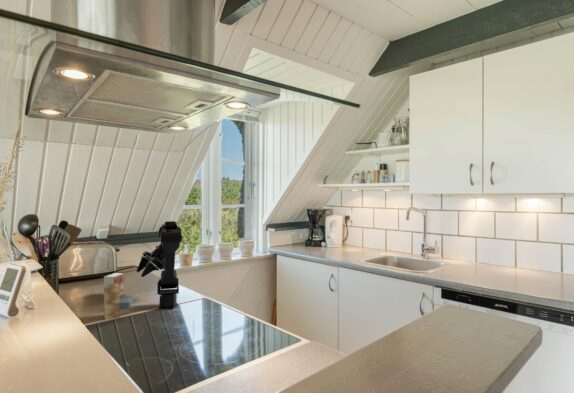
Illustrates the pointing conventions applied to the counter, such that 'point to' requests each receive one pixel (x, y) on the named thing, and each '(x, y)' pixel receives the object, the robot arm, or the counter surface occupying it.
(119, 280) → the small box
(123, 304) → the slate base block
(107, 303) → the oak pillar
